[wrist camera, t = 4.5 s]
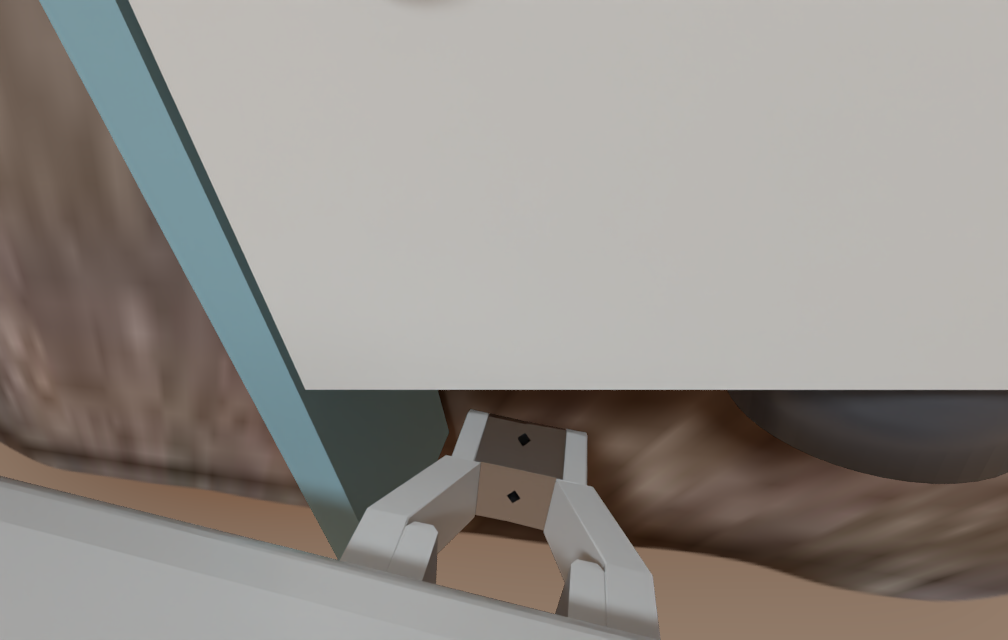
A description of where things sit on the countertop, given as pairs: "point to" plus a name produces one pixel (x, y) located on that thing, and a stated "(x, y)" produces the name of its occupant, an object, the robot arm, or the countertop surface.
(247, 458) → the countertop surface
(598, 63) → the knobbed cream box
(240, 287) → the side door
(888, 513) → the countertop surface
